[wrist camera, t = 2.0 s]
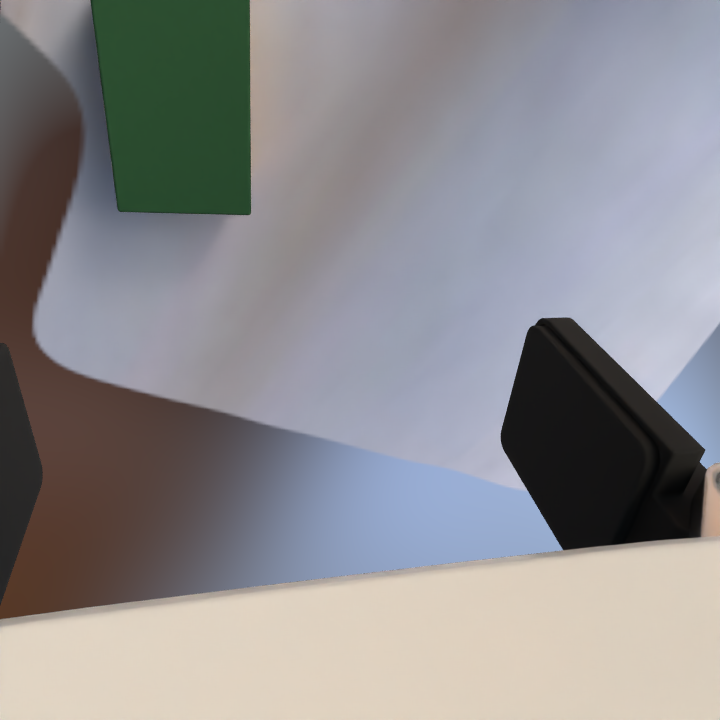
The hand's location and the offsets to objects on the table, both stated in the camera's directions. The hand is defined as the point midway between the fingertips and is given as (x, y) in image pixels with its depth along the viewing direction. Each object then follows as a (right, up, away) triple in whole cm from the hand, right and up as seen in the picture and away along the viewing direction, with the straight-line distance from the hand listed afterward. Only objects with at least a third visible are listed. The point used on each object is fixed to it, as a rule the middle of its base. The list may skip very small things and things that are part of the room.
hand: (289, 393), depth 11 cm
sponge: (-5, +11, +11) cm, 16 cm away
